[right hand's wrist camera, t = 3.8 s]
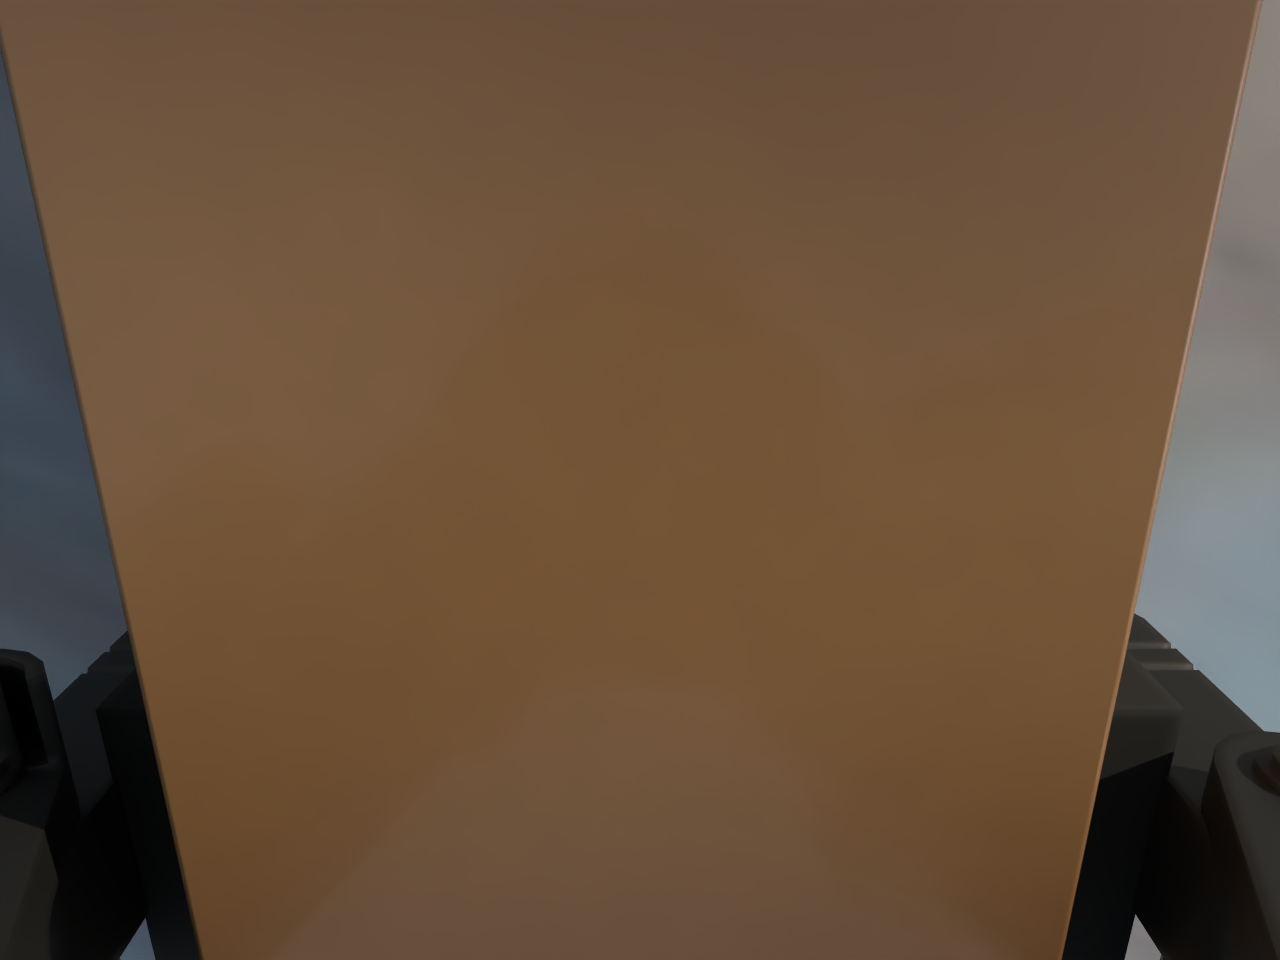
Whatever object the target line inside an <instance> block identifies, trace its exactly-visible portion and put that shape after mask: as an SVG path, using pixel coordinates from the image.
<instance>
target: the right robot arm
mask: <svg viewBox="0 0 1280 960" xmlns="http://www.w3.org/2000/svg"><path fill="white" fill-rule="evenodd" d="M1135 914H1136V915H1137V917H1138V919H1139V920H1140V922H1141V923H1142V925H1143V926H1144V928H1145V929H1146V931H1147V933H1148V934H1149V936H1150V937H1151V939H1152V940H1153V942H1154V943H1155V945H1156V947H1157V948H1158V950H1159V951H1160V953H1161V958H1160V960H1280V733H1276V732H1266V731H1263V730H1262V729H1261V728H1260V727H1259V726H1258V725H1257V724H1256V723H1254V722H1253V721H1252V720H1251V719H1250V718H1249V717H1248V716H1247V715H1246V714H1245V713H1244V712H1243V711H1242V710H1241V709H1240V708H1239V707H1237V706H1236V705H1235V704H1234V703H1233V702H1232V701H1231V700H1230V699H1229V698H1228V697H1227V696H1226V695H1225V694H1224V693H1223V692H1222V691H1220V690H1219V689H1218V688H1217V687H1216V686H1215V685H1214V684H1213V683H1212V682H1211V681H1210V680H1209V679H1208V678H1207V677H1206V676H1205V675H1203V674H1202V673H1201V672H1200V671H1199V670H1194V669H1193V664H1192V663H1191V662H1190V661H1189V660H1187V659H1186V658H1185V657H1184V656H1183V655H1182V654H1181V653H1180V652H1179V651H1178V650H1177V649H1171V644H1170V643H1169V642H1168V641H1167V640H1166V639H1165V638H1164V637H1163V636H1162V635H1161V634H1160V633H1159V632H1158V631H1157V630H1156V629H1155V628H1153V627H1152V626H1151V625H1150V624H1149V623H1148V622H1147V621H1146V620H1145V619H1144V618H1142V617H1140V616H1138V615H1136V614H1134V616H1133V621H1132V626H1131V630H1130V635H1129V640H1128V645H1127V650H1126V654H1125V659H1124V664H1123V669H1122V673H1121V678H1120V683H1119V688H1118V692H1117V697H1116V702H1115V707H1114V712H1113V716H1112V721H1111V726H1110V731H1109V735H1108V740H1107V745H1106V750H1105V754H1104V759H1103V764H1102V769H1101V774H1100V778H1099V783H1098V788H1097V793H1096V797H1095V802H1094V807H1093V812H1092V816H1091V821H1090V826H1089V831H1088V836H1087V840H1086V845H1085V850H1084V855H1083V859H1082V864H1081V869H1080V874H1079V878H1078V883H1077V888H1076V893H1075V898H1074V902H1073V907H1072V912H1071V917H1070V921H1069V926H1068V931H1067V936H1066V940H1065V945H1064V950H1063V955H1062V959H1061V960H1124V959H1125V955H1126V951H1127V947H1128V942H1129V938H1130V934H1131V930H1132V926H1133V922H1134V918H1135ZM145 918H146V922H147V926H148V930H149V934H150V938H151V942H152V947H153V951H154V955H155V959H156V960H200V958H199V953H198V948H197V944H196V939H195V935H194V930H193V926H192V921H191V916H190V912H189V907H188V903H187V898H186V894H185V889H184V884H183V880H182V875H181V871H180V866H179V862H178V857H177V853H176V848H175V843H174V839H173V834H172V830H171V825H170V821H169V816H168V811H167V807H166V802H165V798H164V793H163V789H162V784H161V779H160V775H159V770H158V766H157V761H156V757H155V752H154V747H153V743H152V738H151V734H150V729H149V725H148V720H147V716H146V711H145V706H144V702H143V697H142V693H141V688H140V684H139V679H138V674H137V670H136V665H135V661H134V656H133V652H132V647H131V642H130V638H129V633H128V631H126V632H125V633H124V634H123V635H122V636H121V637H120V638H119V639H118V640H117V641H116V642H115V643H114V644H113V645H112V646H111V647H110V652H104V653H103V654H102V655H101V656H100V657H99V658H98V659H97V660H96V661H95V662H94V663H93V664H92V665H91V666H90V667H89V668H88V672H87V674H81V675H80V676H79V677H78V678H77V679H76V680H75V681H74V682H73V683H72V684H71V685H70V686H69V687H67V688H66V689H65V690H64V691H63V692H62V693H61V694H60V695H59V696H58V697H57V698H56V699H55V700H54V701H53V699H52V695H51V691H50V687H49V683H48V679H47V676H46V672H45V668H44V664H43V661H41V660H40V659H38V658H37V657H35V656H34V655H32V654H31V653H29V652H24V651H16V650H9V649H0V960H120V956H121V955H122V953H123V952H124V950H125V949H126V947H127V945H128V944H129V942H130V941H131V939H132V938H133V936H134V934H135V933H136V931H137V930H138V928H139V927H140V925H141V924H142V922H143V920H144V919H145Z"/></svg>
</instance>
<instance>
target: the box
mask: <svg viewBox="0 0 1280 960" xmlns="http://www.w3.org/2000/svg"><path fill="white" fill-rule="evenodd" d="M1262 1H1263V0H0V49H1V53H2V58H3V62H4V67H5V72H6V76H7V81H8V85H9V90H10V94H11V99H12V104H13V108H14V113H15V117H16V122H17V126H18V131H19V136H20V140H21V145H22V149H23V154H24V158H25V163H26V168H27V172H28V177H29V181H30V186H31V190H32V195H33V199H34V204H35V209H36V213H37V218H38V222H39V227H40V231H41V236H42V241H43V245H44V250H45V254H46V259H47V263H48V268H49V273H50V277H51V282H52V286H53V291H54V295H55V300H56V305H57V309H58V314H59V318H60V323H61V327H62V332H63V336H64V341H65V346H66V350H67V355H68V359H69V364H70V368H71V373H72V378H73V382H74V387H75V391H76V396H77V400H78V405H79V410H80V414H81V419H82V423H83V428H84V432H85V437H86V442H87V446H88V451H89V455H90V460H91V464H92V469H93V473H94V478H95V483H96V487H97V492H98V496H99V501H100V505H101V510H102V515H103V519H104V524H105V528H106V533H107V537H108V542H109V547H110V551H111V556H112V560H113V565H114V569H115V574H116V579H117V583H118V588H119V592H120V597H121V601H122V606H123V610H124V615H125V620H126V624H127V629H128V633H129V638H130V642H131V647H132V652H133V656H134V661H135V665H136V670H137V674H138V679H139V684H140V688H141V693H142V697H143V702H144V706H145V711H146V716H147V720H148V725H149V729H150V734H151V738H152V743H153V747H154V752H155V757H156V761H157V766H158V770H159V775H160V779H161V784H162V789H163V793H164V798H165V802H166V807H167V811H168V816H169V821H170V825H171V830H172V834H173V839H174V843H175V848H176V853H177V857H178V862H179V866H180V871H181V875H182V880H183V884H184V889H185V894H186V898H187V903H188V907H189V912H190V916H191V921H192V926H193V930H194V935H195V939H196V944H197V948H198V953H199V958H200V960H1061V959H1062V955H1063V950H1064V945H1065V940H1066V936H1067V931H1068V926H1069V921H1070V917H1071V912H1072V907H1073V902H1074V898H1075V893H1076V888H1077V883H1078V878H1079V874H1080V869H1081V864H1082V859H1083V855H1084V850H1085V845H1086V840H1087V836H1088V831H1089V826H1090V821H1091V816H1092V812H1093V807H1094V802H1095V797H1096V793H1097V788H1098V783H1099V778H1100V774H1101V769H1102V764H1103V759H1104V754H1105V750H1106V745H1107V740H1108V735H1109V731H1110V726H1111V721H1112V716H1113V712H1114V707H1115V702H1116V697H1117V692H1118V688H1119V683H1120V678H1121V673H1122V669H1123V664H1124V659H1125V654H1126V650H1127V645H1128V640H1129V635H1130V630H1131V626H1132V621H1133V616H1134V611H1135V607H1136V602H1137V597H1138V592H1139V588H1140V583H1141V578H1142V573H1143V568H1144V564H1145V559H1146V554H1147V549H1148V545H1149V540H1150V535H1151V530H1152V526H1153V521H1154V516H1155V511H1156V507H1157V502H1158V497H1159V492H1160V487H1161V483H1162V478H1163V473H1164V468H1165V464H1166V459H1167V454H1168V449H1169V445H1170V440H1171V435H1172V430H1173V425H1174V421H1175V416H1176V411H1177V406H1178V402H1179V397H1180V392H1181V387H1182V383H1183V378H1184V373H1185V368H1186V363H1187V359H1188V354H1189V349H1190V344H1191V340H1192V335H1193V330H1194V325H1195V321H1196V316H1197V311H1198V306H1199V301H1200V297H1201V292H1202V287H1203V282H1204V278H1205V273H1206V268H1207V263H1208V259H1209V254H1210V249H1211V244H1212V239H1213V235H1214V230H1215V225H1216V220H1217V216H1218V211H1219V206H1220V201H1221V197H1222V192H1223V187H1224V182H1225V177H1226V173H1227V168H1228V163H1229V158H1230V154H1231V149H1232V144H1233V139H1234V135H1235V130H1236V125H1237V120H1238V116H1239V111H1240V106H1241V101H1242V96H1243V92H1244V87H1245V82H1246V77H1247V73H1248V68H1249V63H1250V58H1251V54H1252V49H1253V44H1254V39H1255V34H1256V30H1257V25H1258V20H1259V15H1260V11H1261V6H1262Z"/></svg>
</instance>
